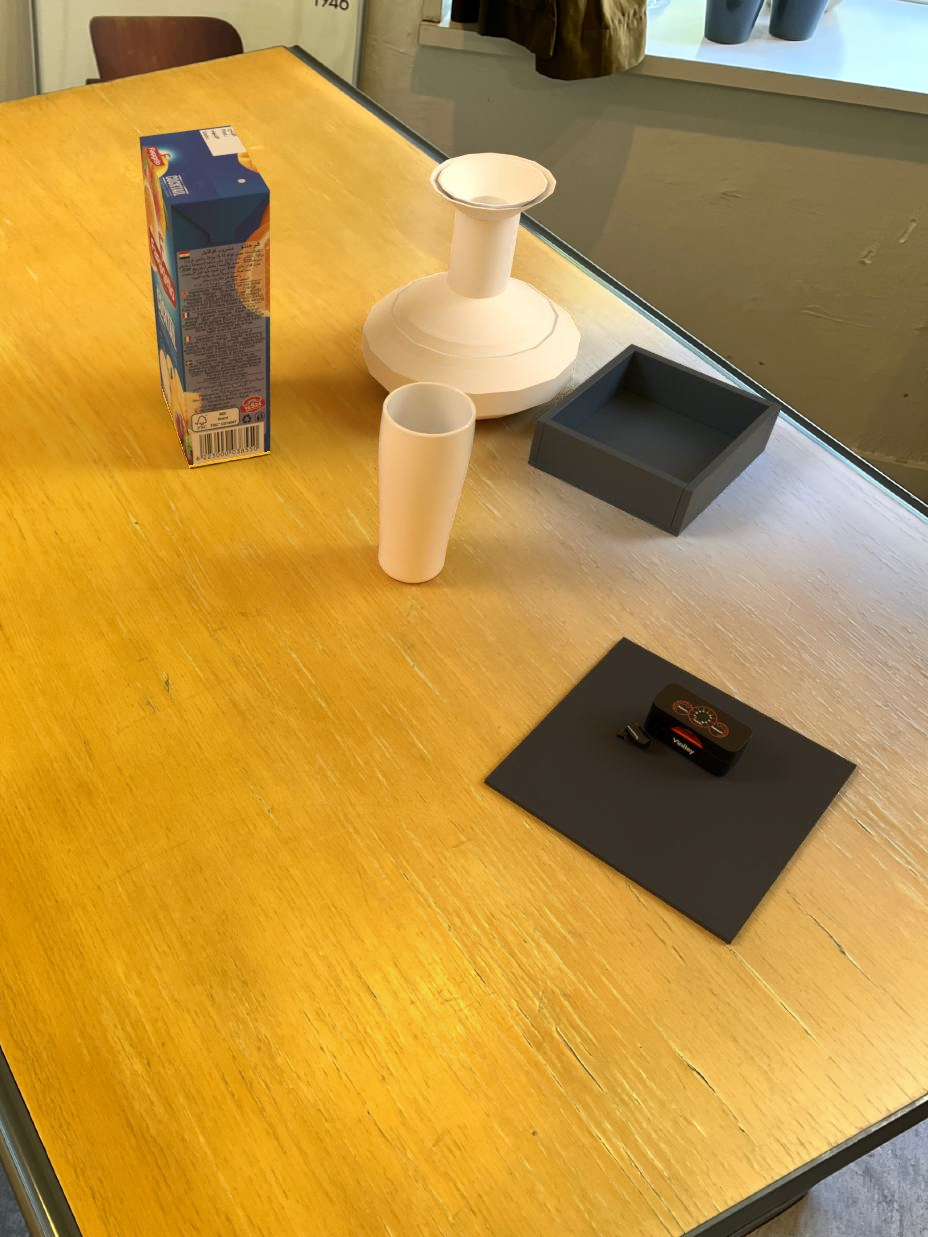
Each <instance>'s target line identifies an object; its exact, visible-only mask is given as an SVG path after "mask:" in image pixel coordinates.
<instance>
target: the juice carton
mask: <svg viewBox="0 0 928 1237" xmlns="http://www.w3.org/2000/svg"><path fill="white" fill-rule="evenodd" d="M138 138H139V147H140V148H139V150H140V160H141V170H142V184H143V195H144V206H145V207H144V208H145V216H146V217H145V218H146V230H147V239H148V240H147V241H148V252H149V263H150V274H151V285H152V286H151V287H152V297H153V298H152V299H153V308H154V320H155V322H154V323H155V332H156V343H157V354H158V365H159V366H158V367H159V378H160V387H161V386H162V389H163V392H164V395H165V398H166V401H167V404H168V407H169V410H170V413H171V415H172V418H173V422H174V424H175V427H176V430H177V432H178V436H179V438H180V441H181V444H182V447H183V450H184V453H185V456H186V458H187V461H188V464H189V465H193V464H200V463H206V462H209V461H215V460H221V459H228V458H234V457H239V456H245V455H251V454H256V453H262V452H267V451H270V452H271V190H270V188H269V186H268V184H267V183H266V181H265V180H264V178H263V176H262V175H261V173H260V171H259V170H258V168H257V166H256V164H255V163H254V161H253V159H252V158H251V157H250V155H249V153H248V151H247V150H246V148H245V147H244V145H243V143H242V141H241V140H240V138H239V136H238V134H236V132H235V130H234V128H233V127H232V125H230V124H229V125H222V126H221V125H220V126H213V127H206V128H198V129H190V130H182V131H175V132H167V133H159V134H150V135H142V136H139V137H138ZM183 450H182V451H183ZM184 453H183V454H184ZM185 456H184V457H185ZM187 461H186V462H187ZM188 464H187V465H188Z"/></svg>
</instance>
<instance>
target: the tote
mask: <svg viewBox="0 0 928 1237" xmlns="http://www.w3.org/2000/svg"><path fill="white" fill-rule="evenodd" d="M782 406H783V405H780V404H779V403H777V402H774V401H772V400H770V399H767V398H765V397H762V396H759V395H758V394H755V393H752V392H750V391H747V390H745V389H743V388H740V387H737V386H735V385H732V384H731V383H728V382H726V381H723V380H720V379H718V378H716V377H714V376H711V375H708V374H706V373H705V372H704V373H703V372H702V371H699V370H697V369H694V368H691V367H689V366H687V365H684V364H682V363H679V362H677V361H675V360H672V359H671V358H668V357H665V356H663V355H660V354H658V353H656V352H653V351H650V350H648V349H646V348H643V347H641V346H638V345H637V344H633V343H631V344H629V345H628V346H626V348H625V349H623V350H622V351H621V352H619V353H618V354H617V355H615V356H614V357H613V358H611V359H610V360H609V361H608V362H607V363H606V364H604V365H603V366H602V367H600V368H599V369H598V370H596V371H595V372H594V373H593V374H592V375H591V376H588V378H587V379H585V380H584V381H582V383H580V384H579V385H578V386H576V387H575V388H574V389H572V391H570V392H569V393H567V395H565V396H564V397H563V398H562V399H560V400H559V401H558V402H556V403H555V404H554V405H553V406H551V408H549V409H548V410H547V411H545V412H544V413H542V414H541V415H540V416H539V417H538V418H537V419H536V421H535V426H534V430H533V437H532V441H531V444H530V445H531V446H530V450H529V455H528V460H527V464H528V465H530V466H531V467H534V468H536V469H538V470H540V471H542V472H544V473H546V474H548V475H550V476H553V477H554V478H556V479H558V480H561V481H562V482H565V483H567V484H569V485H571V486H572V487H575V488H577V489H579V490H581V491H583V492H585V493H586V494H589V495H591V496H593V497H594V498H597V499H599V500H601V501H603V502H605V503H607V504H609V505H611V506H613V507H616V508H618V509H620V510H622V511H624V512H626V513H627V514H630V515H632V516H634V517H636V518H638V519H640V520H641V521H644V522H646V523H648V524H650V525H652V526H654V527H656V528H658V529H660V530H662V531H664V532H666V533H668V534H670V535H672V536H675V537H676V538H677V537H679V536H680V535H681V534H682V533H683V532H684V531H685V530H686V529H687V528H688V527H689V526H690V525H691V524H692V523H693V522H694V521H695V520H696V519H697V518H699V516H700V515H701V514H702V513H703V512H704V511H705V510H706V509H707V508H708V507H709V506H710V505H711V504H712V503H713V502H714V501H715V500H716V499H717V498H718V497H719V496H720V495H721V494H722V493H723V492H724V491H725V490H726V489H727V488H728V487H730V485H731V484H733V482H734V481H735V480H736V479H737V478H738V477H739V476H740V475H742V473H743V472H745V470H746V469H748V467H749V466H750V465H752V464H753V462H754V461H756V459H757V458H758V457H759V456H760V455H761V454H763V452H764V451H765V450H766V448H767V445H768V442H769V440H770V437H771V435H772V432H773V430H774V427H775V425H776V423H777V420H778V417H779V415H780V413H781V410H782Z"/></svg>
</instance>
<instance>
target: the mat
mask: <svg viewBox="0 0 928 1237" xmlns="http://www.w3.org/2000/svg"><path fill="white" fill-rule="evenodd" d="M671 683H675V684H679V685H681V686H682V687H684V688H686V689H687V690H689V691H690V692H692V693H694V694H695V695H697V696H699V697H700V698H702V699H704V700H705V701H707V702H709V703H710V704H712V705H714V706H715V707H717V708H718V709H720V710H722V711H723V712H725V713H727V714H728V715H730V716H732V717H733V718H735V719H737V720H738V721H740V722H742V723H743V724H745V725H746V726H748V727H749V728H750V729H751V730H752V736H751V738H750V740H749V742H748V744H747V746H746V748H745V750H744V752H743V754H742V756H741V758H740V760H739V761H738V762H737V763H736V764H735V766H734V767H733V768H732V769H731V770H730V771H729V772H728V773H727V774H726V775H725V776H723V777H715V776H713V775H712V774H710V773H708V772H707V771H705V770H704V769H702V768H701V767H699V766H698V765H696V764H694V763H693V762H691V761H690V760H688V759H687V758H685V757H683V756H682V755H680V754H679V753H677V752H676V751H674V750H673V749H671V748H669V747H668V746H666V745H665V744H663V743H662V742H660V741H659V740H657V739H655V738H654V737H652V736H651V735H649V734H648V733H647V732H646V731H645V730H644V722H645V720H646V717H647V715H648V712H649V710H650V707H651V704H652V702H653V699H654V698H655V697H656V696H657V695H658V694H659V693H660V692H661V691H662V690H663V689H664V688H665V687H666V686H667V685H668V684H671ZM633 722H636V723H637V724H638V725H639V726H640V727H641V728H642V729H643V730H644V731H645V732H646V733H647V734H648V736H649V738H650V746H649V747H647V748H646V749H640V748H638V747H636V746H635V745H634V744H633V743H632V742H631V741H630V740H629V739H628V738H627V737H625V736H624V740H622V739H620V738H618V737H617V736H616V733H617V732H618V731H619V730H620V729H621V728H623V732H624V730H625V729H626V727H627V726H628V725H629V724H631V723H633ZM857 766H858V765H857V764H856V763H854V762H852V761H850V759H849V760H848V759H847V758H845V757H843V756H842V755H840V754H838V753H836V752H834V751H833V750H831V749H829V748H827V747H825V746H823V745H821V744H820V743H817V742H816V741H814V740H812V739H810V738H809V737H807V736H805V735H804V734H802V733H799V732H798V731H796V730H794V729H792V728H790V727H789V726H787V725H785V724H784V723H782V722H780V721H778V720H776V719H774V718H772V717H771V716H768V715H767V714H766V713H764V712H761V711H759V710H758V709H756V708H755V707H753V706H751V705H748V704H747V703H745V702H743V701H741V700H739V699H738V698H736V697H734V696H732V695H731V694H729V693H727V692H725V691H723V690H722V689H719V688H718V687H716V686H714V685H712V684H711V683H709V682H707V681H705V680H703V679H702V678H699V677H698V676H696V675H694V674H692V673H690V672H689V671H687V670H685V669H683V668H682V667H680V666H678V665H676V664H674V663H672V661H671V662H670V661H669V660H667V659H665V658H664V657H661V656H660V655H658V654H656V653H654V652H653V651H651V650H649V649H647V648H645V647H643V646H641V645H640V644H638V643H637V642H634V641H633V640H631V639H629V638H627V637H626V636H623V637H621V638H620V639H619V641H617V642H616V644H615V645H614V646H612V647H611V649H610V650H609V651H608V652H607V653H606V654H605V655H604V656H603V657H602V658H601V659H600V660H599V661H598V662H597V663H596V664H595V665H594V666H593V667H592V668H591V669H590V670H589V671H588V672H587V674H585V675H584V677H583V678H581V680H579V682H578V683H576V685H575V686H573V688H572V689H571V690H570V691H569V692H568V693H567V694H566V695H564V697H563V698H562V699H561V700H560V701H559V703H558V704H556V706H554V708H552V710H550V711H549V712H548V714H547V715H546V716H545V717H544V718H542V720H541V721H540V722H539V723H538V724H537V725H536V726H535V727H534V728H533V729H532V730H531V731H530V732H529V733H528V734H527V735H526V736H525V737H524V738H523V739H522V741H521V742H520V743H518V744H517V746H516V747H514V749H513V750H512V751H510V753H509V754H508V755H507V756H506V757H504V759H503V760H502V761H501V762H500V763H499V764H498V765H497V766H496V767H495V768H494V769H493V770H492V772H490V774H488V775H487V777H486V778H484V781H483V783H484V784H485V785H486V786H488V787H489V788H490V789H492V790H494V791H495V792H497V793H498V794H500V795H501V796H503V797H504V798H506V799H508V800H509V801H511V802H512V803H514V804H515V805H517V806H518V807H519V808H521V809H523V810H524V811H526V812H527V813H529V814H530V815H532V816H533V817H535V818H537V819H538V820H539V821H540V822H543V823H544V824H546V825H547V826H549V827H550V828H551V829H552V830H554V831H556V832H558V833H559V834H560V835H561V836H564V837H565V838H567V839H568V840H570V841H571V842H573V843H574V844H576V845H577V846H579V847H580V848H582V849H583V850H585V851H586V852H588V853H589V854H590V855H592V856H594V857H595V858H597V859H599V860H601V862H603V863H605V864H606V865H608V866H609V867H611V868H612V869H613V870H614V871H617V872H618V873H620V874H621V875H622V876H624V877H626V878H627V879H629V880H630V881H632V882H633V883H635V884H636V885H638V886H640V887H641V888H643V889H644V890H645V891H647V892H648V893H650V894H651V895H653V896H655V897H656V898H658V899H659V900H661V901H662V902H664V903H665V904H667V905H668V906H669V907H671V908H673V909H674V910H676V911H677V912H678V913H680V914H682V915H683V916H685V917H686V918H688V919H689V920H691V921H692V922H694V923H696V924H697V925H698V926H700V927H702V928H703V929H705V930H706V931H707V932H709V933H711V934H712V935H714V936H715V937H717V938H718V939H720V940H721V941H723V942H724V943H726V944H727V945H731V944H732V942H733V941H734V940H735V938H736V937H737V935H738V934H739V933H740V931H741V930H742V928H743V926H744V925H745V924H746V923H747V921H748V920H749V918H750V917H751V915H752V914H753V913H754V911H755V910H756V908H757V907H759V906H758V905H759V904H760V903H761V902H762V900H763V899H764V897H765V896H766V894H767V893H768V892H769V890H770V888H771V887H772V886H773V885H774V883H775V882H776V880H777V879H778V878H779V877H780V875H781V874H782V872H783V871H784V869H785V868H786V866H787V865H788V864H789V863H790V862H791V859H792V858H793V856H794V855H795V854H796V852H797V851H798V850H799V848H800V847H801V845H802V844H803V842H804V841H806V838H807V837H808V836H809V834H810V833H811V831H812V830H813V828H814V827H815V826H816V824H817V823H818V821H819V820H820V819H821V818H822V816H823V815H824V814H825V812H826V810H827V809H828V808H829V806H830V805H831V803H832V802H833V801H834V799H835V797H836V796H837V795H838V793H839V792H841V789H842V788H843V786H844V785H845V784H846V782H847V781H848V779H849V778H850V777H851V775H852V774H853V772H854V771H855V770H856V768H857Z"/></svg>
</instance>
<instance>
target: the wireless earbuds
mask: <svg viewBox="0 0 928 1237" xmlns="http://www.w3.org/2000/svg"><path fill="white" fill-rule="evenodd" d="M644 730H645V731H646V732H647V733H648V734H649V735H651V736H652V737H654V738H655V739H657V740H659V741H660V742H662V743H663V744H665V745H666V746H668V747H669V748H671V749H673V750H674V751H676V752H677V753H679V754H680V755H682V756H683V757H685V758H687V759H688V760H690V761H691V762H693V763H694V764H696V765H698V766H699V767H701V768H702V769H704V770H705V771H707V772H708V773H710V774H712V775H713V776H715V777H723V776H725V775H726V774H727V773H728V772H729V771H730V770H731V769H732V768H733V767H734V766H735V764H736V763H737V762H738V761H739V760H740V758H741V756H742V754H743V752H744V750H745V748H746V746H747V744H748V742H749V740H750V738H751V736H752V730H751V729H750V728H749V727H748V726H746V725H745V724H743V723H742V722H740V721H738V720H737V719H735V718H733V717H732V716H730V715H728V714H727V713H725V712H723V711H722V710H720V709H718V708H717V707H715V706H714V705H712V704H710V703H709V702H707V701H705V700H704V699H702V698H700V697H699V696H697V695H695V694H694V693H692V692H690V691H689V690H687V689H686V688H684V687H682V686H681V685H679V684H675V683H671V684H668V685H667V686H666V687H665V688H664V689H663V690H662V691H661V692H660V693H659V694H658V695H657V696H656V697H655V698H654V699H653V702H652V704H651V707H650V710H649V712H648V715H647V717H646V720H645V722H644ZM644 730H643V729H642V728H641V727H640V726H639V725H638V724H637V723H636V722H633V723H631V724H629V725H628V726H627V727H626V729H625V730H624V732H623V728H621V729H620V730H619V731H618V732H617V733H616V736H617V737H618V738H620V739H622V740H624V736H625V737H627V738H628V739H629V740H630V741H631V742H632V743H633V744H634V745H635V746H636V747H638V748H640V749H646V748H647V747H649V746H650V738H649V736H648V734H647V733H646V732H645V731H644Z"/></svg>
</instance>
